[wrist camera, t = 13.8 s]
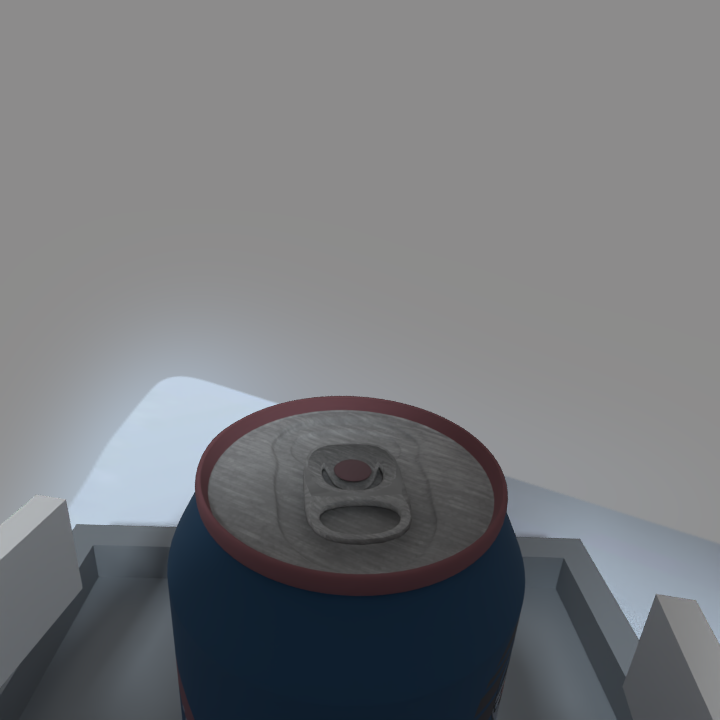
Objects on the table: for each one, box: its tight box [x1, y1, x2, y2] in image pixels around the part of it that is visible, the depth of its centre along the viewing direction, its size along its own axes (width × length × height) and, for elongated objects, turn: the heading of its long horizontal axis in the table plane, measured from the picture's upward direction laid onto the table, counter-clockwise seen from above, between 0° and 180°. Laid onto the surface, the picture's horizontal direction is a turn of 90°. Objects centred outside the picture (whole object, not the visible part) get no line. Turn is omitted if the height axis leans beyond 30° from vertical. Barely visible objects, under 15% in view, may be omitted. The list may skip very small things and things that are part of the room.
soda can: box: [167, 396, 525, 720], centre depth 12 cm, size 7×7×12 cm
